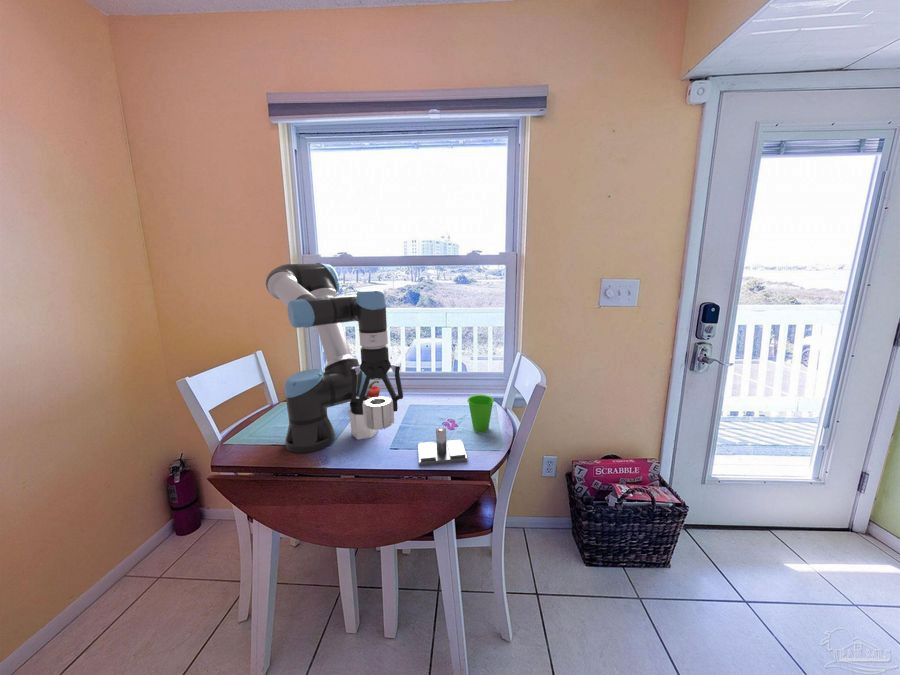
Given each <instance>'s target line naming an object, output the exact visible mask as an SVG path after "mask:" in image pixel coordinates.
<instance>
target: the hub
mask: <svg viewBox="0 0 900 675" xmlns="http://www.w3.org/2000/svg"><path fill="white" fill-rule="evenodd" d="M390 399H391V397H386V396H378V397H375V398H371V399H368V400H367V401H366V402H365V411H366V424H367V428H369V429H372V430H373V429H374V430H378V431H379V430H383V429H384V430H385V429H387V428H389V427H391V426H392V423H391V407H390Z"/></svg>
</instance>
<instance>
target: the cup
mask: <svg viewBox="0 0 900 675" xmlns="http://www.w3.org/2000/svg"><path fill="white" fill-rule="evenodd" d="M494 402H495V400H494V398H493V397H492V396H490V395H487V394H475V395H471V396H469V397H468V398H467V403H468V404H469V411H470V417H471V422H472V428H473V431H474V432H476V433H482V434H483V433H486V432H488V430H489V428H490V423H491V422H490V421H491V417H492V411H493V410H492V409H493V403H494Z"/></svg>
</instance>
